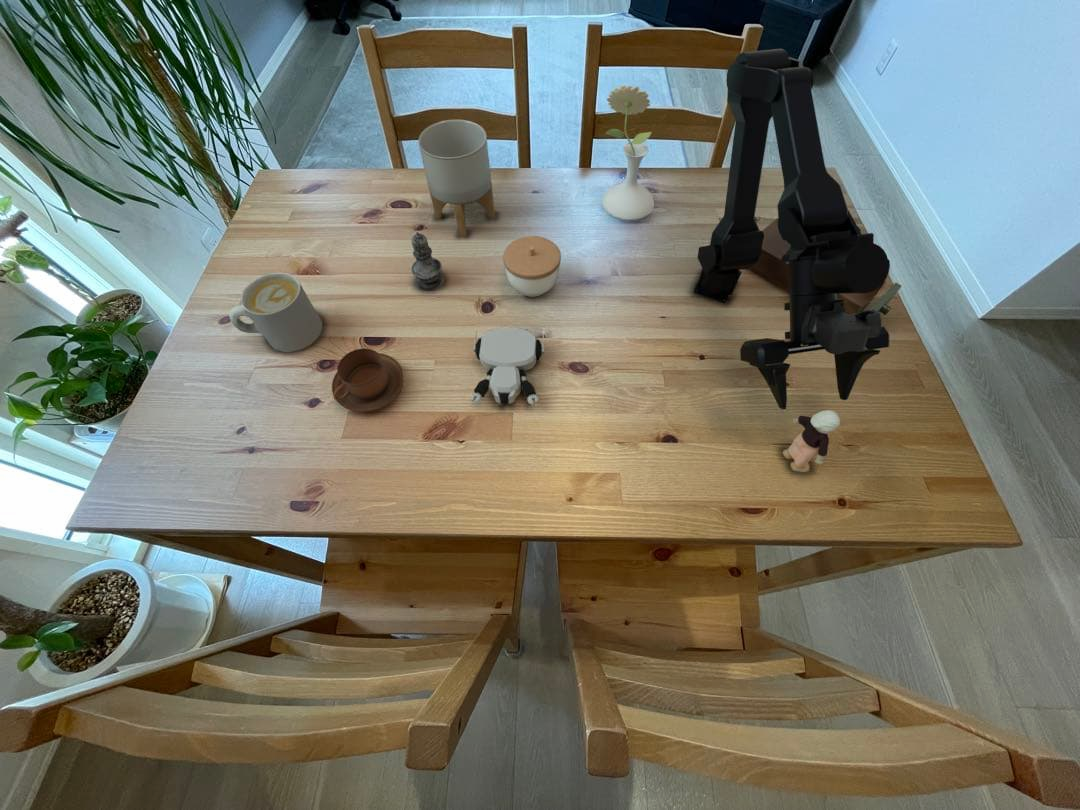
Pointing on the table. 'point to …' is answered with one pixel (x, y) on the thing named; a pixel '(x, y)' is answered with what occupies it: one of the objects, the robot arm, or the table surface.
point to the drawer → (868, 300)
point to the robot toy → (507, 363)
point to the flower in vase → (629, 160)
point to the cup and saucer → (366, 380)
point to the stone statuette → (425, 265)
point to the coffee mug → (278, 312)
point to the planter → (457, 168)
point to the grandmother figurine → (812, 439)
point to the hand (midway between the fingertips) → (813, 404)
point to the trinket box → (532, 265)
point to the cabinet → (773, 258)
